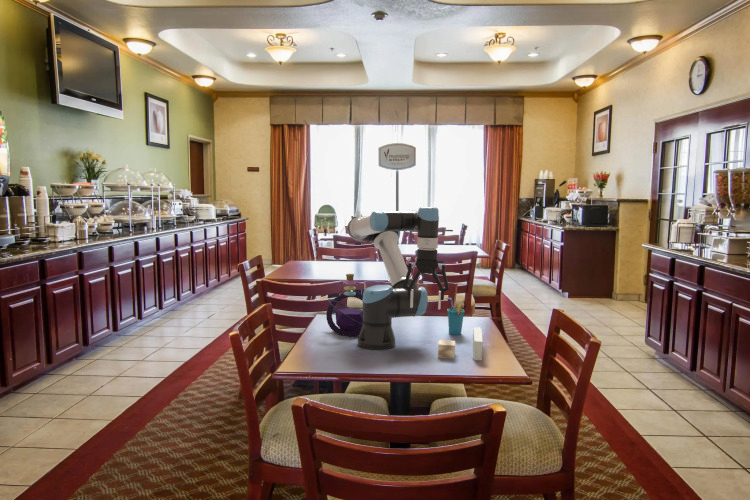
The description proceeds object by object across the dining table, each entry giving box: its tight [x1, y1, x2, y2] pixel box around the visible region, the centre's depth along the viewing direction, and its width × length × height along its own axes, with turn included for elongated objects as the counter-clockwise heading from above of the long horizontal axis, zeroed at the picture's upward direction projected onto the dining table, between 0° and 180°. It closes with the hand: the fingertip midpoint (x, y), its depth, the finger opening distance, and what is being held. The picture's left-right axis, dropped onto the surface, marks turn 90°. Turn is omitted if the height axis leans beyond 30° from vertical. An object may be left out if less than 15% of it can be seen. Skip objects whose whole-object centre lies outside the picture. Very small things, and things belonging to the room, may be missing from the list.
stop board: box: [472, 326, 484, 361], centre depth 196 cm, size 3×20×7 cm, turn 170°
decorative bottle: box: [326, 273, 363, 337], centre depth 221 cm, size 22×21×25 cm
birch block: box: [437, 339, 456, 359], centre depth 191 cm, size 6×6×5 cm
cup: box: [446, 297, 466, 336], centre depth 220 cm, size 14×8×15 cm, turn 22°
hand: (425, 307), depth 191 cm, fingers open, 10 cm apart
